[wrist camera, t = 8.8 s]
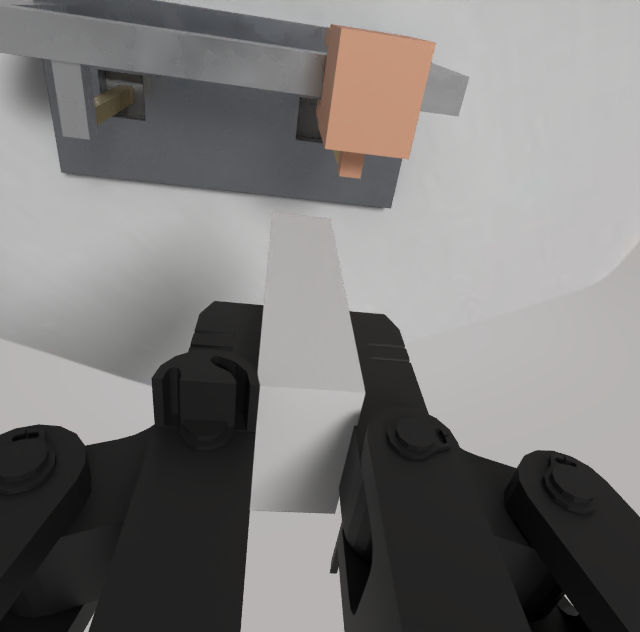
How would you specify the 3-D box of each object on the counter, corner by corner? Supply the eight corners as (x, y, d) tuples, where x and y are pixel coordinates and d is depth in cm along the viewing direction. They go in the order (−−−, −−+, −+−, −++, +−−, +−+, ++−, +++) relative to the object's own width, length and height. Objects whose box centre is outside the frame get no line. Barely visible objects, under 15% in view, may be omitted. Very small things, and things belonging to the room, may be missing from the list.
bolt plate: (68, 166, 37) (61, 172, 36) (40, -18, 30) (29, -20, 29) (387, 202, 40) (390, 208, 39) (422, 42, 34) (428, 44, 33)
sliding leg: (305, 129, 35) (318, 195, 23) (318, 19, 31) (341, 27, 19) (358, 136, 35) (397, 203, 23) (376, 29, 32) (435, 42, 19)
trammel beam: (55, 96, 34) (-25, 127, 25) (40, 0, 31) (-58, -3, 22) (402, 141, 37) (439, 182, 28) (420, 58, 34) (469, 76, 25)
